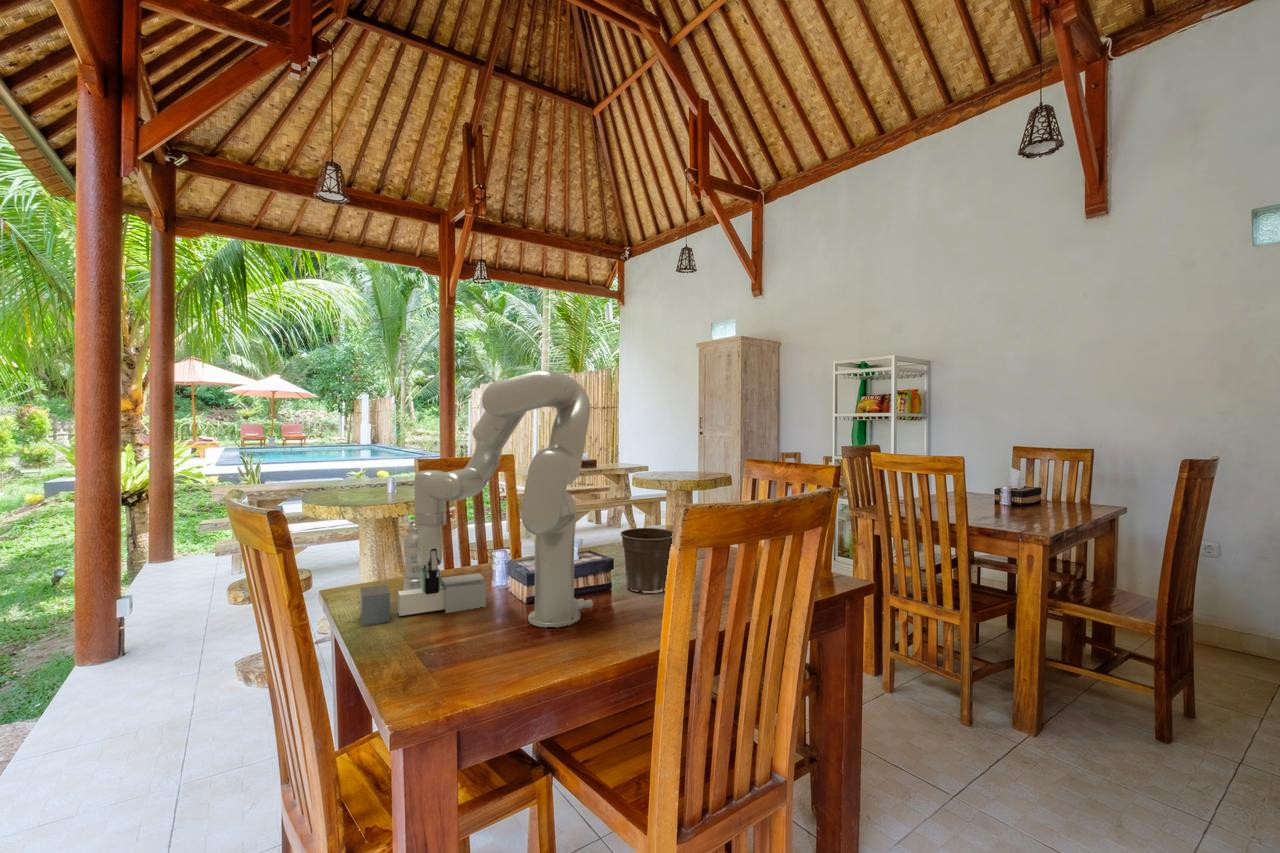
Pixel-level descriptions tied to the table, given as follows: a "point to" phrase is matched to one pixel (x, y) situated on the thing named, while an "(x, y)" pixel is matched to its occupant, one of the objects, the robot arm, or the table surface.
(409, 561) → the plastic bottle
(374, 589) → the socket block
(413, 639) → the table surface
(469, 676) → the table surface
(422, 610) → the long white box
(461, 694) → the table surface
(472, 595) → the gray rectangular block
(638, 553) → the plant pot
